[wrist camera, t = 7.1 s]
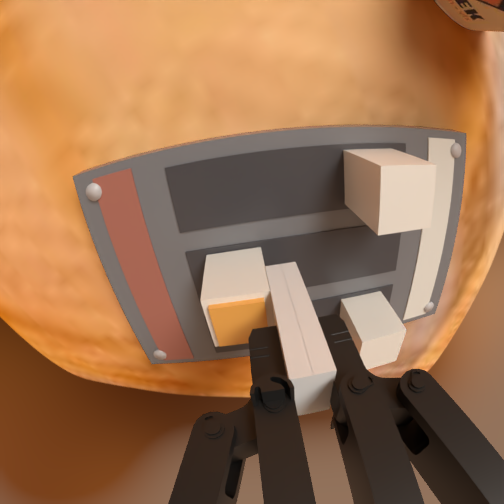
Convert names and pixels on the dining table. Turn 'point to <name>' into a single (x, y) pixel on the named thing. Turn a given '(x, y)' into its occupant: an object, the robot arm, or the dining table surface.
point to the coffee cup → (475, 13)
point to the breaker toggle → (236, 295)
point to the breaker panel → (281, 227)
